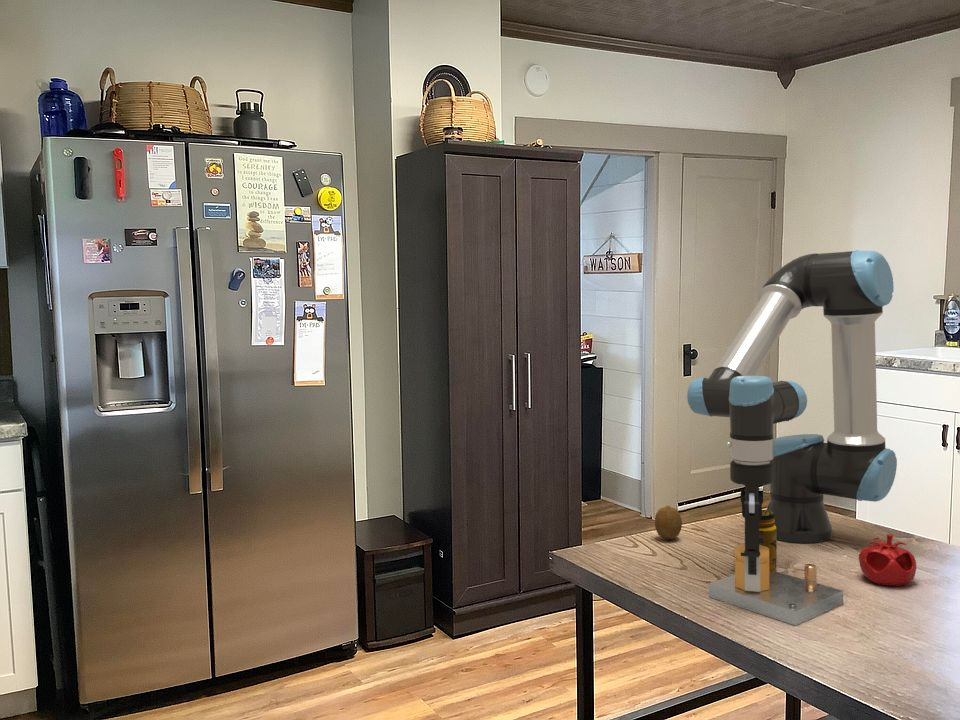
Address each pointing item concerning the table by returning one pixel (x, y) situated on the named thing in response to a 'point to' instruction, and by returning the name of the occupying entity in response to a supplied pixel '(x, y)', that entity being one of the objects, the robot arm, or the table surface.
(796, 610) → the plate
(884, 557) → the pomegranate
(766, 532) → the condiment
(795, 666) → the table surface
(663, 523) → the fruit
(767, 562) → the wire nut
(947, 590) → the table surface
